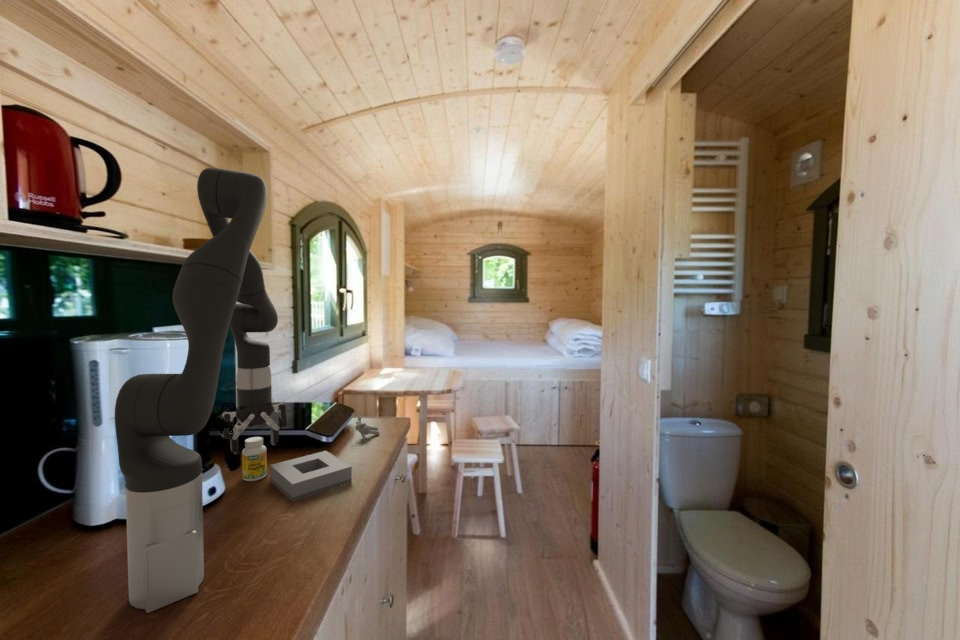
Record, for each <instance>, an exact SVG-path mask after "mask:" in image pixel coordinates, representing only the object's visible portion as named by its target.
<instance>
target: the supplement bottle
mask: <svg viewBox="0 0 960 640" xmlns="http://www.w3.org/2000/svg"><path fill="white" fill-rule="evenodd" d="M244 446H245V448H243V450H242V451H241V459H242V460H241V464H242V465H241V467H242V470H241V471H242V473H241V474H242V480H243V481H246V482H255V481H260V480H262V479H264V478H265V477H266V476H267V474H268V465H267V463H268V462H267V456H268V455H267V450H268V449H267V447H266V446H265V445H264V437H262V436H253V437H252V436H251V437H248V438H246V439H245V440H244Z"/></svg>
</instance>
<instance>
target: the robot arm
mask: <svg viewBox="0 0 960 640" xmlns="http://www.w3.org/2000/svg"><path fill="white" fill-rule="evenodd" d="M196 188H197V189H196V191H197V196H198V197H197V198H198V201H199V205H200V208H201V210H202V213H203V215H204V218H205V221H206V224H207V225H208V228H209V231H210V233H211V238H210V239H209V240H207V241H205V242H204V243H202V244H201V245H200V246H198V247H197V248H196V249H194V250H193V251H192V252H191V253H190V254H189V255H188V256H187V257H186V258H185V259H184V262H183V264H181V268H180V271H179V274H178V276H177V279H176V281H175V284H174V287H173V290H172V303H173V307H174V310H175V312H176V314H177V317H178V319H179V321H180V324H181V326H182V327H183V329H184V332H185V335H186V337H187V342H188V345H187V346H188V348H187V349H188V350H187V356H186V360H185V365H184V368H183V370H182V372H181V373H143V374H137V375H134V376H132V377H130V378H129V379H127V380H126V381H125V382H124V383H123V385H122V386H121V387H120V389H119V391H118V393H117V396H116V399H115V400H116V401H115V406H114V426H115V427H114V428H115V435H116V446H117V454H118V457H117V458H118V466H119V470H120V472H121V474H122V475H123V477H124V480H125V498H126V499H125V501H126V505H125V506H126V508H125V509H126V511H125V512H126V516H125V517H126V540H127V541H126V546H127V549H126V550H127V576H128V578H127V580H128V583H127V584H128V603H129V604H130V605H131V607H133V608H134V609H135V608H136V609H141V610H145V612H146V614H148V613H151V612H154V611H156V610H158V609H161V608H163V607H166V606H169V605H171V604H173V603H175V602H177V601H180V600H183V599H185V598H188V597H189V596H193V595H195V594H197V593H198V592H199V586H201V584H202V582H203V580H204V577H205V570H204V569H205V565H204V564H205V560H204V559H205V558H204V557H205V556H204V555H205V554H204V553H205V552H204V515H203V514H204V513H203V510H204V509H203V507H204V506H203V462H202V461H203V460H202V456H201V454H200V453H198V452H197V451H195V450H193V449H190V448H188V447H185V446H183V445H181V444H179V443H177V442H176V441H174V440H173V438H171V437H178V436H179V437H182V436H185V437H186V436H193V435H196V434H198V433H200V432H201V431H202V430H203V429H204V428H205V426H206V425H207V423H208V421H209V419H210V418H211V414H212V412H213V408H214V405H215V402H216V395H217V392H218V391H217V389H218V383H219V378H220V371H221V365H222V360H223V353H224V349H225V344H226V341H227V340H226V339H227V335H228V333H229V329H230V331H231V334H232V336H233V339H234V343H235V347H236V354H237V355H236V360H237V361H236V362H237V364H236V367H237V370H236V371H237V372H236V382H235V385H236V409H235V411H228V412H227V411H223V412H222V413H221V417H222V416H223V417H224V419H226V420H229V421H231V422H233V421H234V418H235V417H236V418H237V419H238V421H236V424H235V425H234V427H233V429H232V430H233V433H230V432H231V431H230V429H231V426H230V427H229V428H224V431H223V434H222V433H221V432H220V436H221V438H223V439H224V440H227V439H229V444H230V451H231V452H232V453H233V454H234V455H238V454H240V445H239V444H240V439H239V436H240V435H241V434H242V432H244V431H245V430H246V428H247V427H248V428H253V427H255V426H262V425H264V424H267V425H268V426H269V427H270V428H271V429H270V431H269V432H270V444H271V446H277V443H279V441H280V440H279V438H280V435H279V432H280V429H282V428H285V427H286V426H287V425H288V422H287V411H286V405H285V404H284V403H282V402H277V403H276V404H273V402H272V400H273V399H272V398H273V397H272V393H273V391H272V370H271V349H270V345H269V344H268V343H267V342H263V341H259V340H254V339H251V338H250V337H249V335H248V334H247V333H270V332H272V331H273V330H274V329H275V328H276V327H277V325H278V321H279V320H278V319H279V317H278V313H277V310H276V308H275V306H274V304H273V302H272V301H271V299H270V296H269V295H268V293H267V291H266V286H265V280H264V279H265V278H264V273H263V267H262V265H261V263H260V261H259V260H258V258H257V256H256V255H255V254H254V252H252V250H251V248H252V245H253V242H254V240H255V237H256V234H257V232H258V230H259V227H260V225H261V222H262V219H263V217H264V215H265V211H266V206H267V200H268V189H267V185H266V182H265V180H264V179H263V178H262V177H261V176H259V175H257V174H254V173H250V172H246V171H239V170H232V169H224V168H216V167H206V168H204V169H202V170H201V172H200V173H199V176H198V179H197V184H196ZM230 219H231V220H230ZM273 412H276V413H277V419H278V420H277V422H275V421H274V420H273V419H272V418H271V415H272V414H273Z"/></svg>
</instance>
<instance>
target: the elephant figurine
mask: <svg viewBox="0 0 960 640" xmlns="http://www.w3.org/2000/svg"><path fill="white" fill-rule="evenodd" d="M355 423H356V425H355V427H354V428H355V430H356V431H358V433H360V435H361V437H362V441H363V443H364V442H365V443H366V442H367V441H366V440H367V438H368V437H366V436H367V435H369V434H370V435H375V436H379V435H380V434H381V431H379V430H380V428H379V427H378V426H370V425H368V424H367V423H366V422H363V423H362V416H360V415H358V416H357V420H356V421H355Z"/></svg>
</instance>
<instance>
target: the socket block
mask: <svg viewBox="0 0 960 640" xmlns="http://www.w3.org/2000/svg"><path fill="white" fill-rule="evenodd" d="M352 468H353V467H352V465H350V464H349V463H347V462H345V461H344V460H342V459H341V458H338V456H336V455H334V454H332V453H331V452H329V451H327V450H323V451H320V452H319V451H318V452H316V453H315V452H314V453H312V454H307V455H304V456H300V457H296V458H293V459H287V460H285V461H280V462H277V463H273V464H272V463H271V464H270V465H269V469H270V470H269V476H270V477H269V478H270V480H269V481H270V482H271V484H273V485H274V487H276V488H277V489H278V490H279V491H280V492H281V493H282V494H283V495H285V496H286V497H287V498H288V499H289V500H290V501H291V502H292V503H293V502H297V501H299V499H300V500H303V499H305V497H306V498H308V496H309V497H311V496H315V495H318V494H321V493H324V492H326V491H329V490H333V489H337V488H340V487H342V486H344V484H345V485H348V484H351V483H352V482H353V481H352V479H353V478H352V470H353V469H352ZM347 483H348V484H347ZM341 485H342V486H341ZM332 488H333V489H332ZM314 494H315V495H314ZM302 498H303V499H302ZM296 500H297V501H296Z"/></svg>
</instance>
